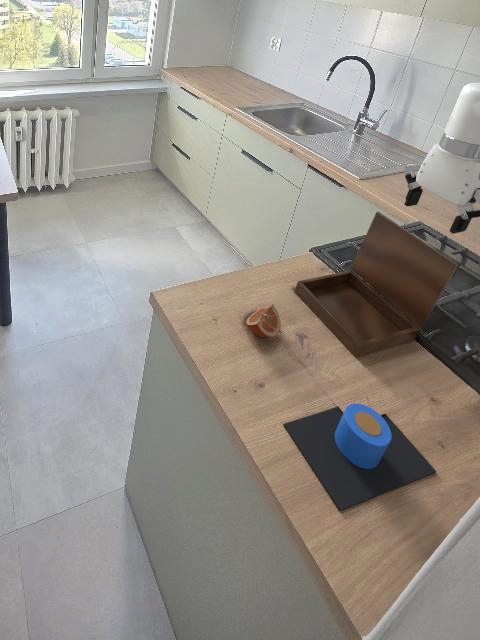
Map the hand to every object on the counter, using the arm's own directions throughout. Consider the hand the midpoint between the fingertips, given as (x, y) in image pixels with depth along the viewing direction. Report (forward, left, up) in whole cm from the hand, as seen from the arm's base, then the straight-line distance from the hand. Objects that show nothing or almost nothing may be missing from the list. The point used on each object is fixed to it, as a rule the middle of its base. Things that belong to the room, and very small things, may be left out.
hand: (432, 217), depth 89 cm
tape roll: (+32, +22, -28) cm, 48 cm away
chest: (+10, -1, -28) cm, 30 cm away
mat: (+32, +22, -28) cm, 48 cm away
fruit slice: (+33, -3, -28) cm, 44 cm away
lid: (+2, -1, -14) cm, 15 cm away
